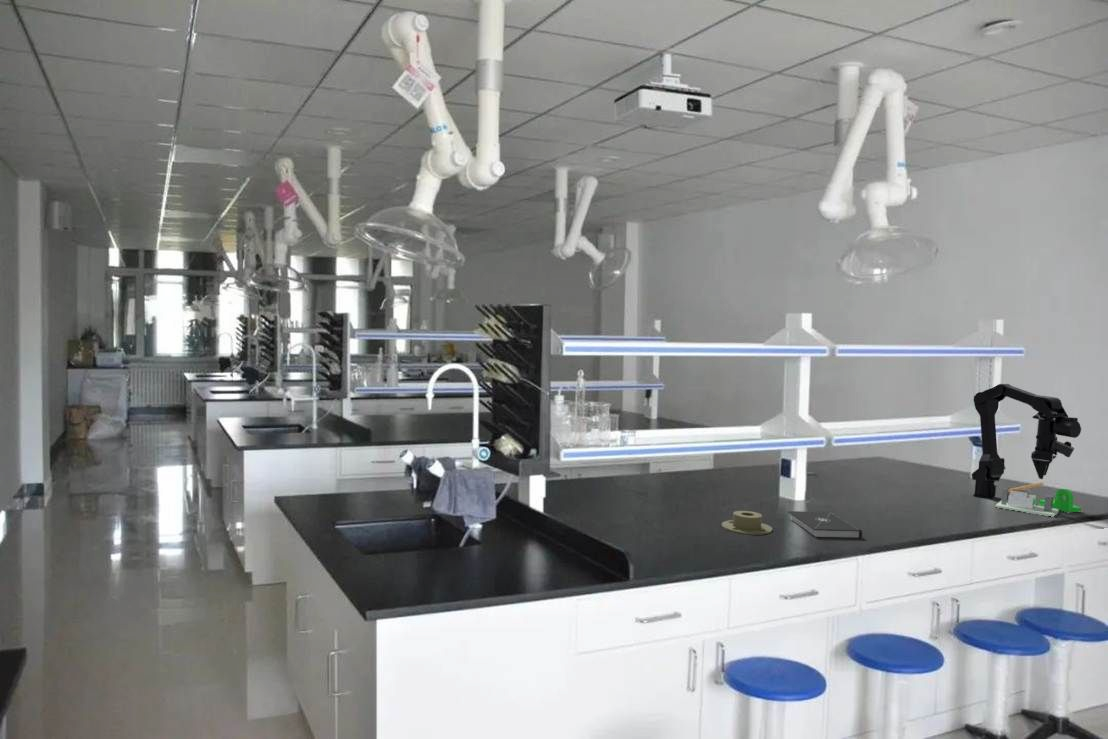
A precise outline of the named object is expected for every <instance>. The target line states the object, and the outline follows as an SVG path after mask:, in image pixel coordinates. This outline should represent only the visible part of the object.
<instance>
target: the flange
mask: <svg viewBox="0 0 1108 739" xmlns="http://www.w3.org/2000/svg"><path fill="white" fill-rule="evenodd" d="M732 514H733V515H732V520H731V519H729V520H725V521H723V522H721V527H722V528H723V529H725V530H726V531H729V532H732V533H736V534H741V535H742V534H743V535H751V536H758V535H759V536H761V535H763V536H764V535H767V534H771V533H772V532H773V527H772V526H771V525H768V524H766V523H763V522H762V520H763V515H762V514H761V513H759V512H756V511H750V510H748V511H747V510H737V511H735V510H734V511H733V513H732Z"/></svg>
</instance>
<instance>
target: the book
mask: <svg viewBox="0 0 1108 739" xmlns="http://www.w3.org/2000/svg"><path fill="white" fill-rule="evenodd" d="M787 513H788V514H789V515H791V518H790V519H791V521H792V522H794V523H795V524H797V525H798V526H800V527H801V528H802V529H804V530H805V531H807V532H808V533H809V534H811V535H812V536H814V537H815V538H817V537H818V538H820V537H821V538H854V539H855V538H857V539H858V538H859V539H862V538H863V531H862V529H860V528H859V527H857V526H856V525H854V524H852V523H851V522H849V521H847V520H846V519H844V518H842V517H841V516H839V515H837V514H836V513H834V512H832V511H803V510H802V511H797V510H796V511H795V510H792V511H791V510H788V511H787Z"/></svg>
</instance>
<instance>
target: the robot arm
mask: <svg viewBox="0 0 1108 739" xmlns="http://www.w3.org/2000/svg"><path fill="white" fill-rule="evenodd" d="M1006 397H1007V398H1009V399H1013V400H1015V401H1018V402H1020V403H1023V404H1026V405H1028V406H1030V407H1031V409H1033V410H1035V411H1036V412H1037V413H1036V414H1035V415H1033V416H1032V419H1034V420H1038V421H1037V429H1036V430H1037V431H1036V435H1035V439H1036V443H1035V447H1034V451H1032V452H1031V456H1030V459H1031V461H1032V463H1033V466H1034V469H1035V471H1036V474H1037V477H1038V479H1039V480H1043V479H1044V477H1045V476H1047V473H1048V470H1049V467H1050V464H1052V463H1053V460H1054V459H1055V458H1057V456H1058V453H1059V454H1061V455H1063V456H1065V457H1067V458H1070V457H1071V455H1072V454H1073V452H1074V450H1075V447H1073V446H1072V443H1071V442H1070V441H1068V440H1066V441H1064V442H1061V441H1060V440H1059V441H1058V436H1060V437H1061V436H1062V437H1068V438H1074V439H1075V438H1076V439H1077V438H1078V437H1079V436H1080V434H1081V432H1082V426H1081V424H1080V422H1079V420H1078V419H1079V418H1078V417H1071V416H1070V417H1069V415H1068V414H1067V411H1066V410H1065V408H1064V407H1063V403H1062V400H1061V399H1060V398H1058V397H1054V396H1047V395H1039V394H1036V393H1033V392H1031V391H1027V390H1024V389H1022V388H1019V387H1017V386H1013V385H1011V384H1009V383H998V384H997V385H995V386H993V387H991V388H988V389H986V390H983V391H979V392H977V393H975V395H974V396H973V404H974V408H975V411H976V412H977V414H979V420H980V421H979V422H980V434H981V435H980V436H981V446H982V447H981V449H982V455H981V457H980V459H979V461H978V468H976V470H974V472H972V473H971V479H972V480H973V481H974V482H975V483H974V484H975V485H974V494H973V496H974V497H978V498H984V499H990V498H991V500H993V499H994V498H996V496H997V489H998V485H997V484H996V483H997V482H999V481H1000V480H1001V477H1002V476H1003V475H1004V473H1005V470H1006V465H1005V458H1003V457H1000V455H999V454H998V446H997V445H998V444H997V442H998V440H997V431H996V430H997V429H996V414H997V411H998V409H999V404H1000V402H1001V401H1003V400H1004V399H1005V398H1006ZM1057 435H1058V436H1057ZM992 498H993V499H992Z"/></svg>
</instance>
